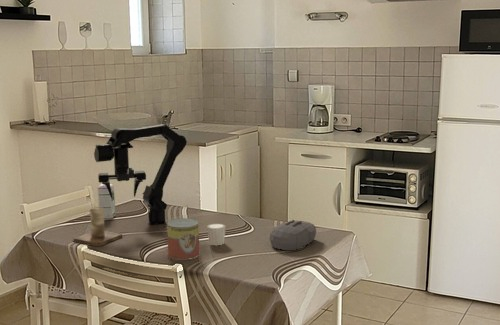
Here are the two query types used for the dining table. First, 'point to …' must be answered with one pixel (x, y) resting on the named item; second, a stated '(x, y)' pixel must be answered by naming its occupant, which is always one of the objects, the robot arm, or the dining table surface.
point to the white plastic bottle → (106, 200)
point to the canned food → (183, 238)
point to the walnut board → (98, 241)
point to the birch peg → (97, 222)
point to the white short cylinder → (216, 234)
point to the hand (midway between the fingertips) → (123, 197)
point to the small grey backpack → (292, 235)
